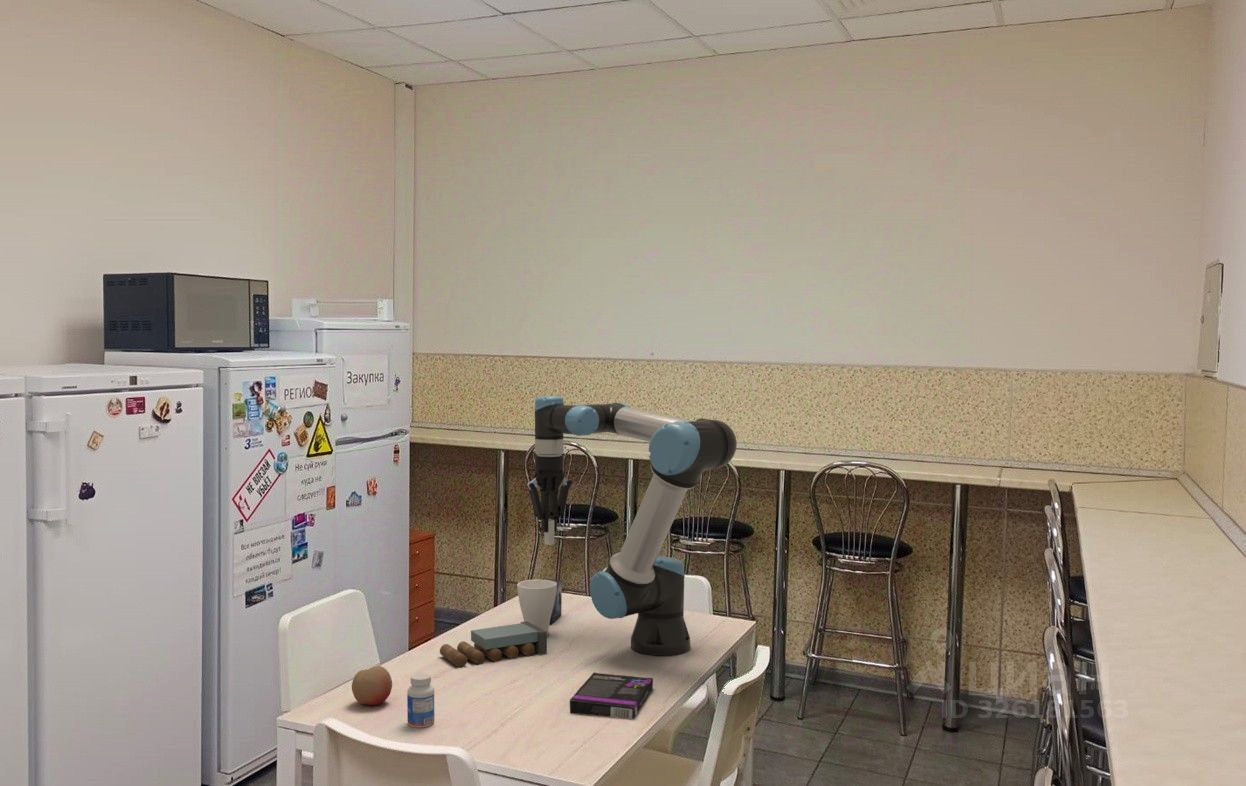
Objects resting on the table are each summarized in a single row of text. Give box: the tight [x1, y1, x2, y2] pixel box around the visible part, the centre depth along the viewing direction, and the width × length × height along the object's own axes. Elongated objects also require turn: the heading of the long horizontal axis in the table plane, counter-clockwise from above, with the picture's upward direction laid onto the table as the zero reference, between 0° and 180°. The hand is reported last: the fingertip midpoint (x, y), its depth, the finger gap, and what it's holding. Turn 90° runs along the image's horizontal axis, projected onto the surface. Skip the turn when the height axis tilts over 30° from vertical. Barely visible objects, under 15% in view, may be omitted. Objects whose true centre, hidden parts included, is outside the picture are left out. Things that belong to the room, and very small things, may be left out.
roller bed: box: [439, 641, 536, 668], centre depth 254 cm, size 10×21×3 cm, turn 121°
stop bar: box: [520, 621, 548, 656], centre depth 261 cm, size 11×2×6 cm, turn 31°
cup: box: [516, 579, 557, 636], centre depth 273 cm, size 10×10×14 cm
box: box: [569, 672, 654, 720], centre depth 223 cm, size 14×4×20 cm
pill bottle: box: [406, 672, 436, 729], centre depth 209 cm, size 6×5×10 cm
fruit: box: [351, 665, 393, 707], centre depth 220 cm, size 8×8×8 cm
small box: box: [540, 577, 563, 626], centre depth 288 cm, size 11×6×10 cm, turn 168°
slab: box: [470, 623, 538, 650], centre depth 257 cm, size 9×14×2 cm, turn 121°
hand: (549, 544), depth 273 cm, fingers closed
